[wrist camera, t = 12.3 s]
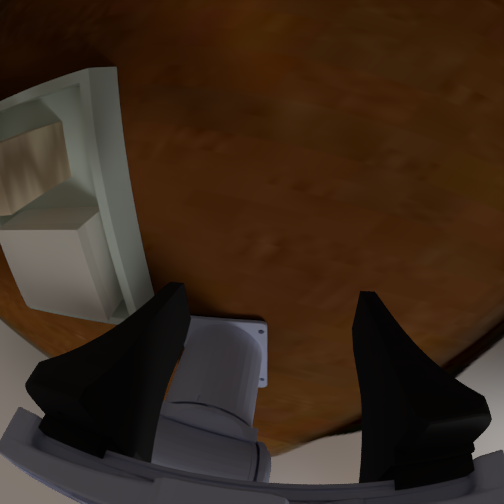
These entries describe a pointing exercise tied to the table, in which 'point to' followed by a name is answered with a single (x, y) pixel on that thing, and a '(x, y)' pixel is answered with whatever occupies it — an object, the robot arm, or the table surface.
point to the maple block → (31, 166)
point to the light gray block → (62, 261)
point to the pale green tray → (89, 167)
